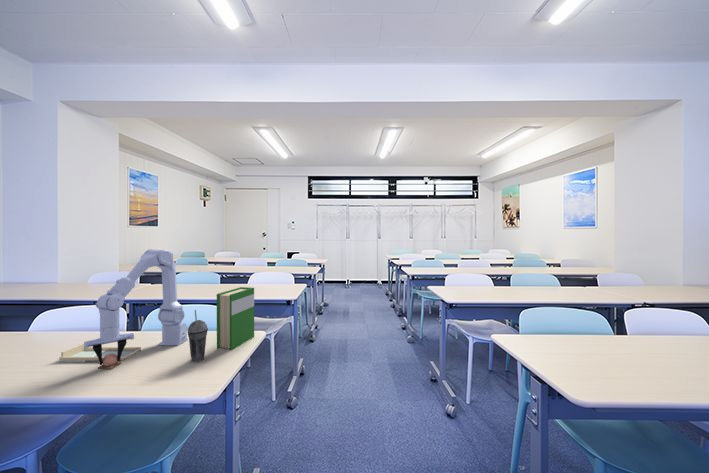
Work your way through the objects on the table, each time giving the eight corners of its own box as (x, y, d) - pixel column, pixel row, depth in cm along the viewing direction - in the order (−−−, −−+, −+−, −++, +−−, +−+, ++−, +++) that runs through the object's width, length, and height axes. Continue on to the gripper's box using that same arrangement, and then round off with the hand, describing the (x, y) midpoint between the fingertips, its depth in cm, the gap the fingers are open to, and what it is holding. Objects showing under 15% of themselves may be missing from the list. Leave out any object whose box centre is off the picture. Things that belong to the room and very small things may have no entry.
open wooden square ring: (121, 363, 115) (121, 361, 115) (111, 369, 110) (111, 367, 110) (108, 363, 115) (108, 361, 115) (97, 369, 110) (97, 367, 110)
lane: (140, 351, 128) (140, 342, 128) (120, 361, 117) (120, 352, 117) (84, 351, 127) (84, 342, 127) (59, 362, 116) (59, 352, 116)
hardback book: (231, 350, 128) (231, 294, 128) (216, 348, 130) (216, 293, 130) (254, 336, 146) (254, 287, 146) (240, 335, 147) (240, 287, 147)
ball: (120, 363, 115) (120, 351, 115) (111, 368, 110) (111, 356, 110) (108, 363, 115) (108, 351, 115) (98, 368, 110) (98, 356, 110)
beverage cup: (212, 357, 121) (212, 308, 121) (197, 364, 114) (197, 312, 114) (198, 354, 123) (198, 306, 123) (182, 361, 117) (182, 310, 116)
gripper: (132, 320, 120) (132, 353, 120) (83, 327, 111) (84, 364, 111) (134, 324, 115) (134, 359, 115) (83, 332, 105) (84, 370, 105)
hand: (110, 362), depth 113 cm, fingers closed on ball, 4 cm apart
